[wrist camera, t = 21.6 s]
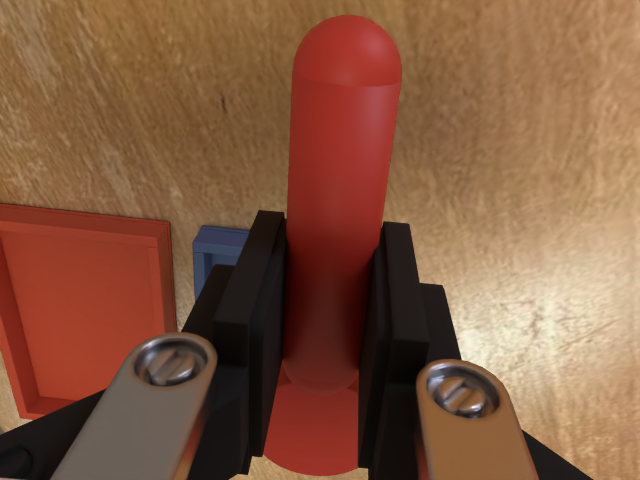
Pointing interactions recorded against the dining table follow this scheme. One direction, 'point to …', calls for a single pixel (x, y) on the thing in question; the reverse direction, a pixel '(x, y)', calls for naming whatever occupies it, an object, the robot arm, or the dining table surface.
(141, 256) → the red tray
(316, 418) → the red spoon
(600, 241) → the dining table surface
